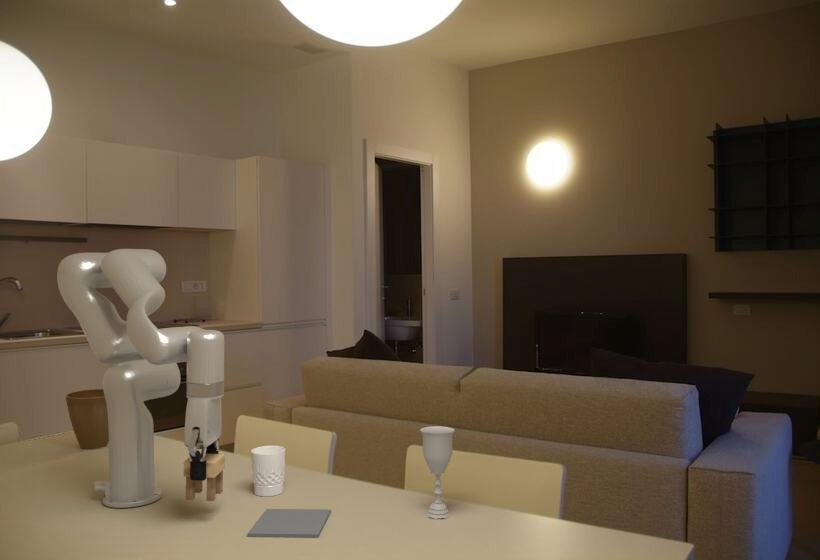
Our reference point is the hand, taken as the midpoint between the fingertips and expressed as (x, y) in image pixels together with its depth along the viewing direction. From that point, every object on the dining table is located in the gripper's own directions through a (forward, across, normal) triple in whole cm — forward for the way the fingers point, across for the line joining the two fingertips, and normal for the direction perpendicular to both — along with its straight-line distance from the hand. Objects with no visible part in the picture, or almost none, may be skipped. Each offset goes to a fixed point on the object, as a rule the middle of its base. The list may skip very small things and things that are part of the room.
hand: (204, 473), depth 147 cm
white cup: (+10, -17, +9) cm, 22 cm away
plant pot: (+13, -58, -55) cm, 81 cm away
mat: (+9, +3, +19) cm, 21 cm away
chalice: (+8, -3, +49) cm, 50 cm away
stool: (+5, 0, 0) cm, 5 cm away
